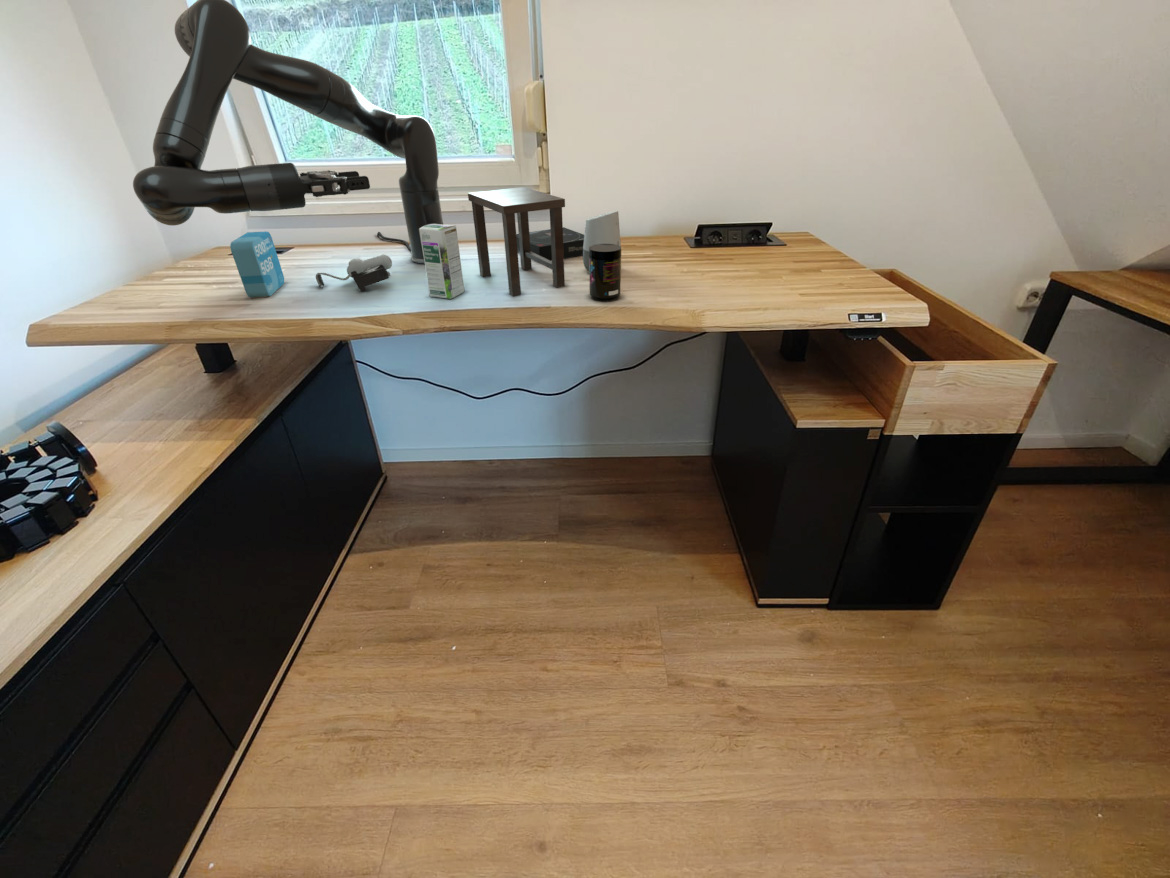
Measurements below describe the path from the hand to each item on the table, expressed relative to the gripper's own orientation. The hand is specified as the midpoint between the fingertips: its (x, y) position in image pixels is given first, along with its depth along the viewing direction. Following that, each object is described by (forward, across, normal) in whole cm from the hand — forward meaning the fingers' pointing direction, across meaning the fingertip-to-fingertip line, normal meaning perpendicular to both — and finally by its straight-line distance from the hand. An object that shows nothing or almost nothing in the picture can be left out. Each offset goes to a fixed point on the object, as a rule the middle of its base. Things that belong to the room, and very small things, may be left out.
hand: (363, 179), depth 107 cm
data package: (-22, +23, +24) cm, 40 cm away
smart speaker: (+50, -7, +24) cm, 56 cm away
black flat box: (+49, +17, +24) cm, 57 cm away
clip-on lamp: (-4, +16, +24) cm, 29 cm away
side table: (+30, -3, +24) cm, 39 cm away
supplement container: (+40, -24, +24) cm, 53 cm away
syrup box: (+12, -3, +24) cm, 27 cm away
